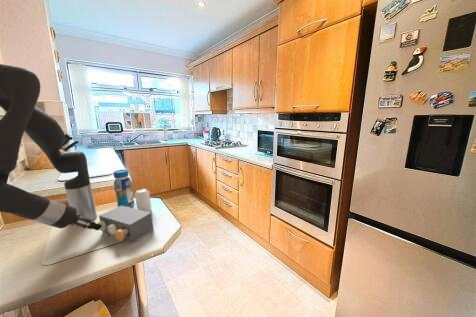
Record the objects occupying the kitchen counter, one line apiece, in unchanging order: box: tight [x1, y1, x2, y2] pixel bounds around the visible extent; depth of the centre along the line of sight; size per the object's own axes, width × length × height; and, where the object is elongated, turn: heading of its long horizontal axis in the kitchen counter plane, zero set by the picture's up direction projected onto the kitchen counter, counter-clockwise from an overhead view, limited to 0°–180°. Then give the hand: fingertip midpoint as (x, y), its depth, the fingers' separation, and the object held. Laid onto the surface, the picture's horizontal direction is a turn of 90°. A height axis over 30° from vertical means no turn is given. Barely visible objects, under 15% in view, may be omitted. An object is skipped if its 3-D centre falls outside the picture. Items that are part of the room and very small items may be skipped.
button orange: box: [114, 228, 129, 242], centre depth 75 cm, size 4×5×4 cm
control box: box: [98, 206, 154, 244], centre depth 83 cm, size 19×10×8 cm, turn 66°
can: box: [134, 187, 152, 213], centre depth 99 cm, size 6×6×12 cm
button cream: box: [107, 224, 118, 236], centre depth 79 cm, size 4×5×4 cm
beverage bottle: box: [112, 169, 135, 208], centre depth 107 cm, size 8×8×20 cm
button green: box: [97, 220, 108, 232], centre depth 82 cm, size 4×5×4 cm
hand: (99, 227), depth 79 cm, fingers closed
